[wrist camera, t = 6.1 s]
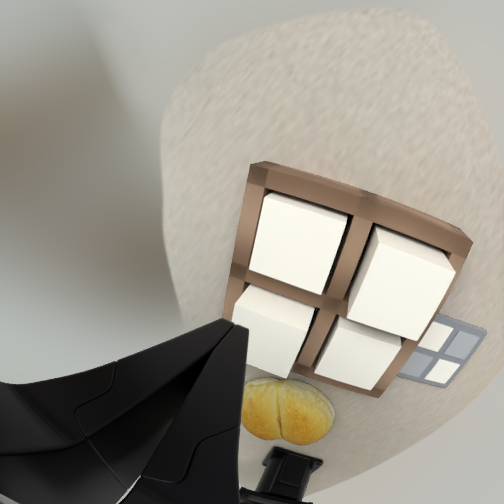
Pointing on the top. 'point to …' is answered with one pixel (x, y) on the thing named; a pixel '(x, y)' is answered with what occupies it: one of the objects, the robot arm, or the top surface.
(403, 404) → the top surface
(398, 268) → the button
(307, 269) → the button
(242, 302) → the button
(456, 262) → the brown flat square grid
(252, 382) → the bread roll
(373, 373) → the button
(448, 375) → the pattern card
